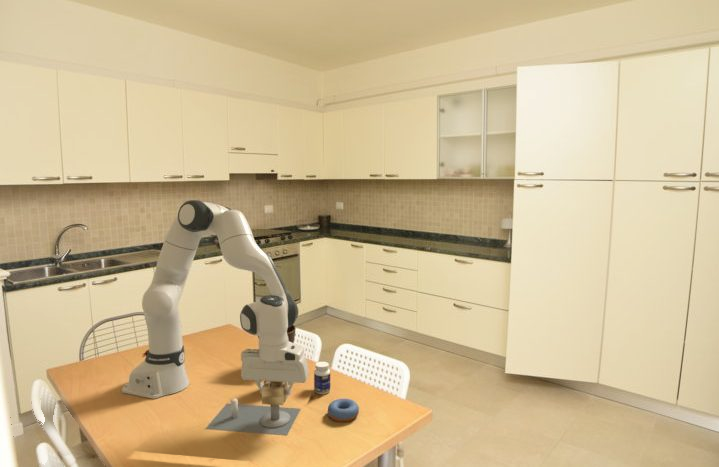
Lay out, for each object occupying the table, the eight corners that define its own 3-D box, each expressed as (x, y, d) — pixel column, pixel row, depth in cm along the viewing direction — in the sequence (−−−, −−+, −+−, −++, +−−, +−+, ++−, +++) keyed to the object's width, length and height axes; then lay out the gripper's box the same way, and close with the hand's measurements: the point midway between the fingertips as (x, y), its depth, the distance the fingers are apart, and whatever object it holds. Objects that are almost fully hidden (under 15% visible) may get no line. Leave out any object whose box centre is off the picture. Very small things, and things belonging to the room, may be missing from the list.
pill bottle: (324, 396, 155) (323, 368, 154) (311, 392, 158) (310, 365, 157) (333, 389, 160) (333, 362, 159) (320, 385, 163) (320, 359, 162)
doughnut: (348, 426, 136) (348, 411, 136) (321, 419, 141) (321, 405, 141) (364, 414, 145) (364, 400, 145) (338, 408, 150) (338, 394, 150)
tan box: (262, 404, 134) (261, 388, 134) (269, 393, 141) (268, 378, 140) (282, 405, 134) (282, 389, 133) (288, 394, 140) (288, 379, 139)
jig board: (205, 433, 133) (203, 405, 132) (227, 407, 148) (225, 382, 147) (287, 440, 130) (286, 411, 129) (301, 413, 144) (300, 387, 143)
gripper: (236, 352, 133) (238, 396, 135) (304, 355, 131) (305, 400, 132) (244, 344, 140) (246, 387, 141) (309, 347, 137) (310, 390, 139)
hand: (275, 393), depth 137 cm, fingers closed on tan box, 6 cm apart
